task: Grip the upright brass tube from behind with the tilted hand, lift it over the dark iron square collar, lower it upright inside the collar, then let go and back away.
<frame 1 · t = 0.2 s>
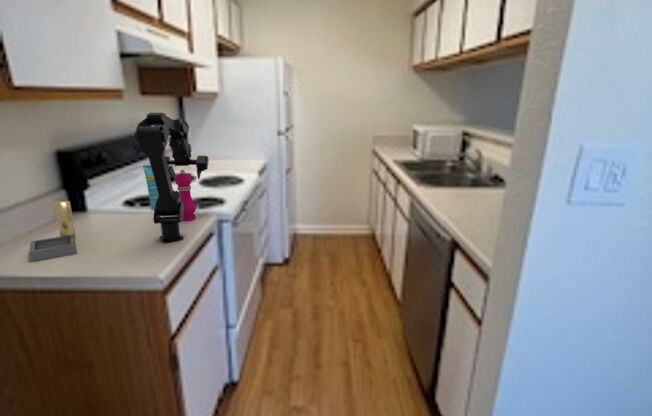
hand: (187, 178, 157), 15 cm above the worktop, tool tilted 35°, fingers open, 9 cm apart
pepper mill: (187, 219, 153), on the worktop
tube: (157, 208, 169), on the worktop
brass tube: (68, 239, 131), on the worktop
collar: (54, 251, 119), on the worktop
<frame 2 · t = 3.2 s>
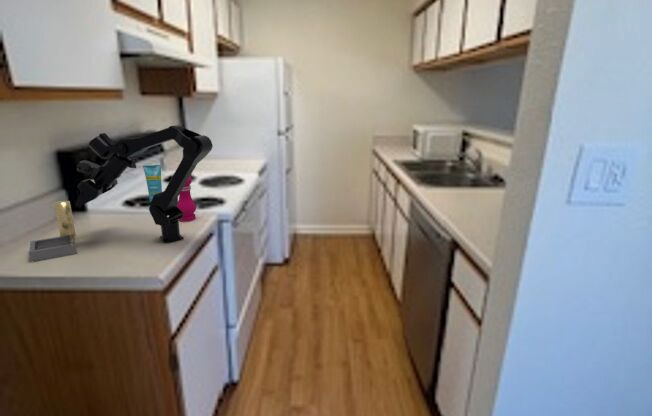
hand: (82, 202, 128), 13 cm above the worktop, tool tilted 45°, fingers open, 9 cm apart
nothing on the worktop moved.
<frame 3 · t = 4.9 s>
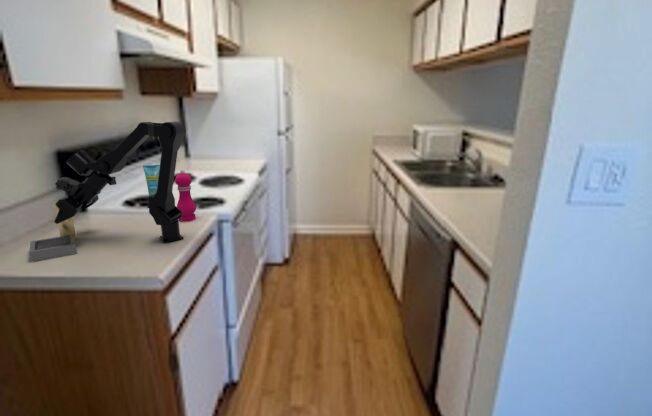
hand: (62, 218, 129), 7 cm above the worktop, tool tilted 45°, fingers open, 9 cm apart
nothing on the worktop moved.
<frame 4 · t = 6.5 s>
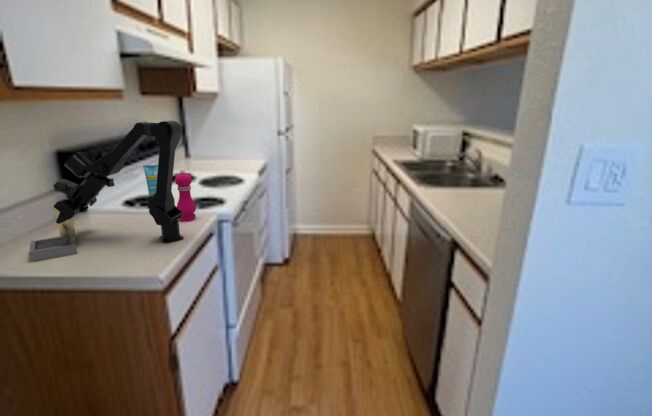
hand: (60, 220, 129), 7 cm above the worktop, tool tilted 45°, fingers closed on brass tube, 4 cm apart
brass tube: (68, 239, 131), on the worktop, touching gripper
everything else where it was.
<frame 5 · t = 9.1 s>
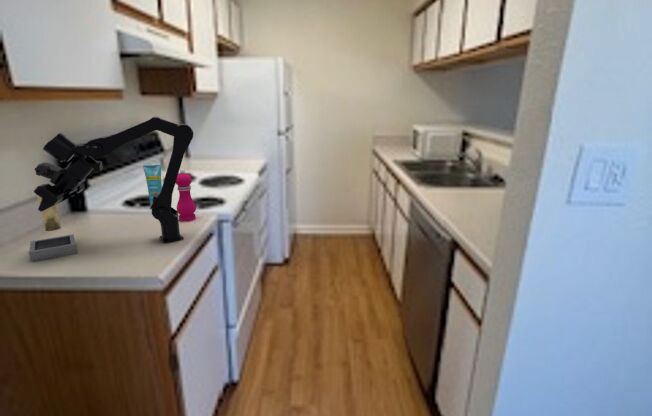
hand: (44, 208, 118), 14 cm above the worktop, tool tilted 45°, fingers closed on brass tube, 4 cm apart
brass tube: (53, 228, 120), point 7 cm above the worktop, touching gripper
everything else where it was.
when the fingers open (7 cm above the worktop, at t = 11.7 s): brass tube stays where it is, resting in collar.
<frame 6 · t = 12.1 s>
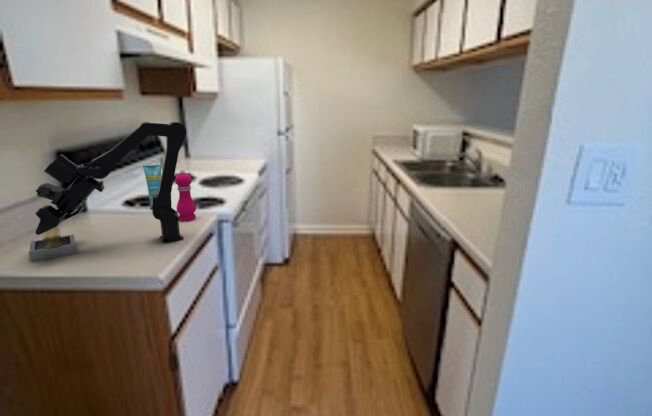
hand: (45, 229, 117), 8 cm above the worktop, tool tilted 45°, fingers open, 9 cm apart
brass tube: (54, 251, 119), resting in collar
everything else where it was.
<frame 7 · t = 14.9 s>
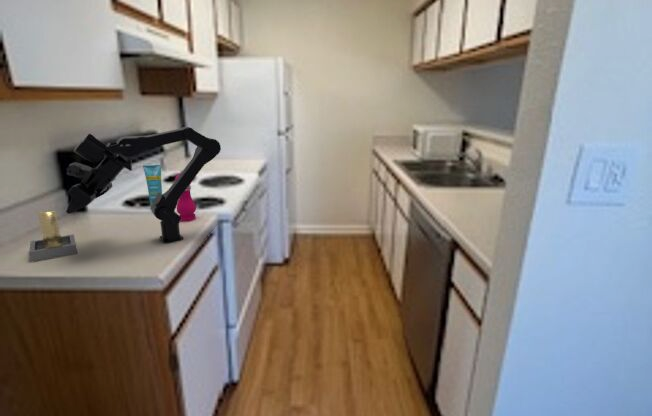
hand: (74, 208, 118), 14 cm above the worktop, tool tilted 45°, fingers open, 9 cm apart
nothing on the worktop moved.
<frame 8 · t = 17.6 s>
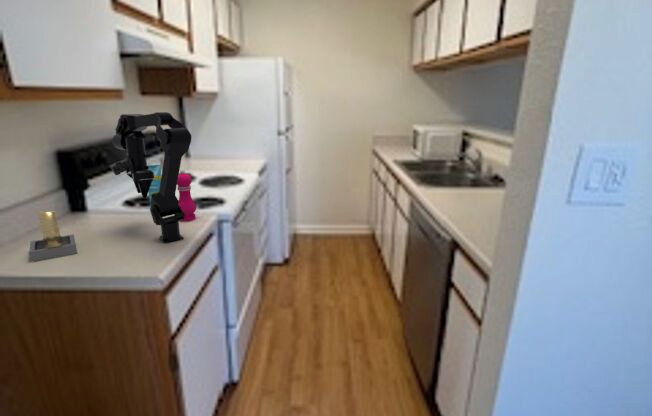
hand: (142, 195, 136), 13 cm above the worktop, tool pointing down, fingers open, 9 cm apart
nothing on the worktop moved.
at the end: brass tube 0.0 cm off-centre on the collar, point 0.0 cm above the collar's base; brass tube tilted 0°; the gripper is holding nothing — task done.
